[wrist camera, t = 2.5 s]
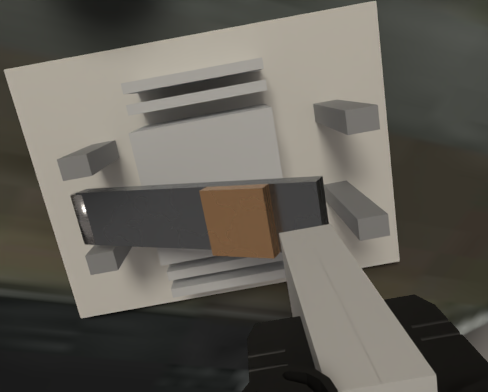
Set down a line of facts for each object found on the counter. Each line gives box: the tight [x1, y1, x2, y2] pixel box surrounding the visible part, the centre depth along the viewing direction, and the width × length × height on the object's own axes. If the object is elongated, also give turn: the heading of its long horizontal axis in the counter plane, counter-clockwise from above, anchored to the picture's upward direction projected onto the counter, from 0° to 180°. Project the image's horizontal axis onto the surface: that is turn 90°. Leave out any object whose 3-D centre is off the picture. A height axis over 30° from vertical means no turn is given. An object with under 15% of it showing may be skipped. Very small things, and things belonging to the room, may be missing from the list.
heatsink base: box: [4, 1, 400, 318], centre depth 26 cm, size 24×18×9 cm
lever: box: [70, 176, 329, 259], centre depth 20 cm, size 14×3×2 cm, turn 99°
